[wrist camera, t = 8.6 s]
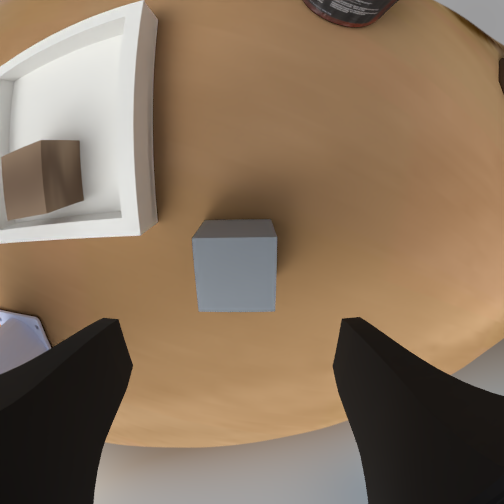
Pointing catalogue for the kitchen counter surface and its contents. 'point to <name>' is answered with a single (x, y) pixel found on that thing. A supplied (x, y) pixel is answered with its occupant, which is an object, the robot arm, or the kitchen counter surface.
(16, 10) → the kitchen counter surface
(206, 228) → the slate block
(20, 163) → the walnut block
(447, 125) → the kitchen counter surface
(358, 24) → the supplement bottle
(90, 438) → the robot arm
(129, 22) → the tray
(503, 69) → the beer bottle
